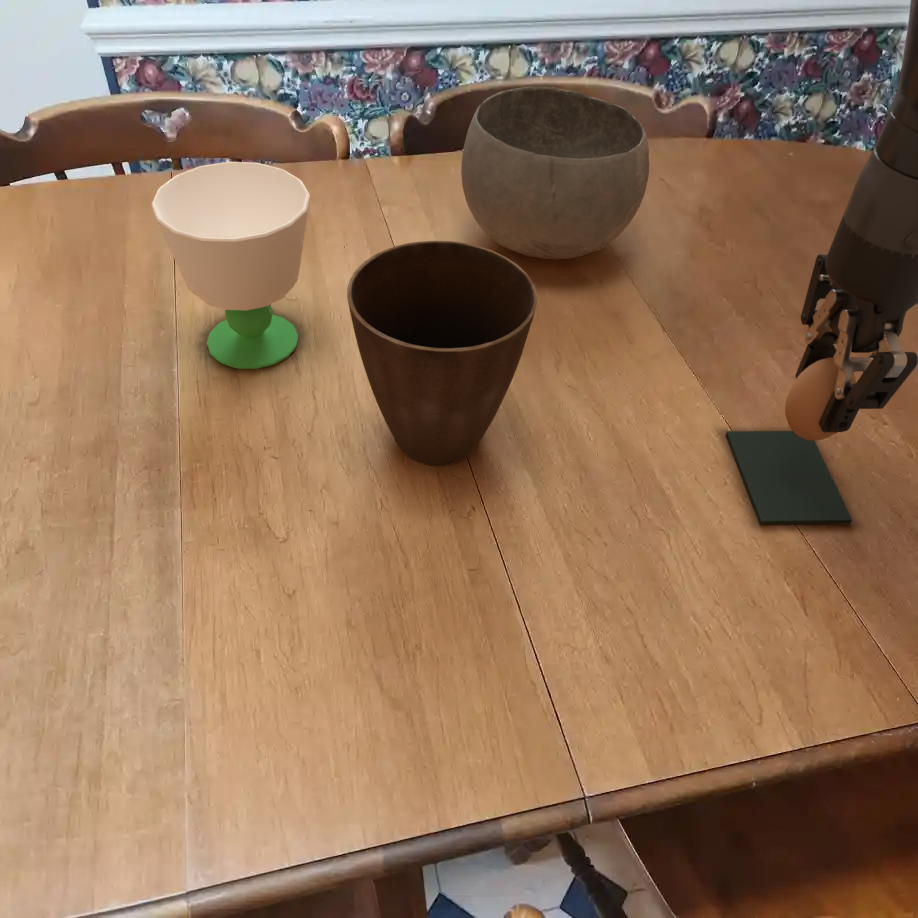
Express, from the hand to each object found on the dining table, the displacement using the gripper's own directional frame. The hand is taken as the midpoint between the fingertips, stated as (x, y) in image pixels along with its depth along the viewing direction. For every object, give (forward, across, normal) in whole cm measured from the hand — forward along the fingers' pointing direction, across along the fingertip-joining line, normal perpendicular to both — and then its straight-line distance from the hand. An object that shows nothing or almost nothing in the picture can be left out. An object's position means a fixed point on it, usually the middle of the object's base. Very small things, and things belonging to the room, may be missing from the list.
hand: (819, 404), depth 73 cm
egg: (+4, 0, 0) cm, 4 cm away
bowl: (+9, +39, +17) cm, 43 cm away
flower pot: (+9, +6, +31) cm, 33 cm away
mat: (+9, 0, 0) cm, 9 cm away
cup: (+9, +20, +49) cm, 54 cm away
